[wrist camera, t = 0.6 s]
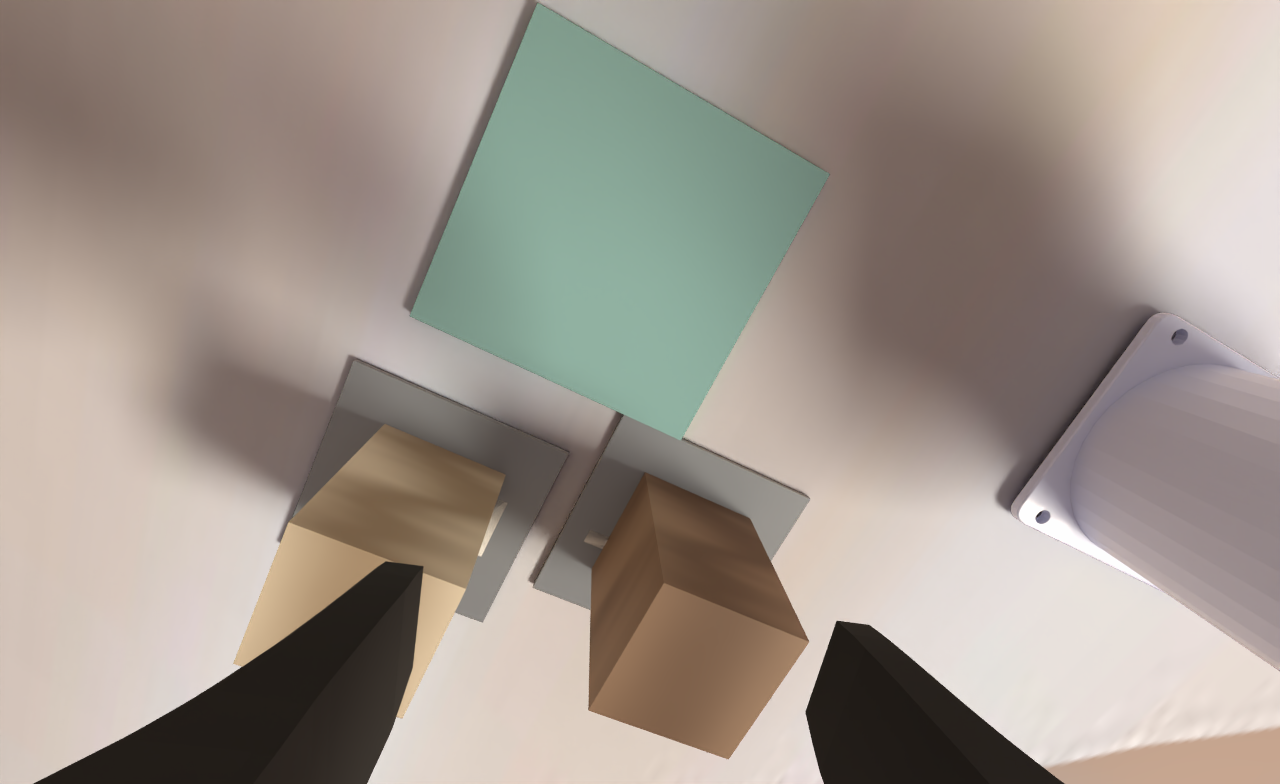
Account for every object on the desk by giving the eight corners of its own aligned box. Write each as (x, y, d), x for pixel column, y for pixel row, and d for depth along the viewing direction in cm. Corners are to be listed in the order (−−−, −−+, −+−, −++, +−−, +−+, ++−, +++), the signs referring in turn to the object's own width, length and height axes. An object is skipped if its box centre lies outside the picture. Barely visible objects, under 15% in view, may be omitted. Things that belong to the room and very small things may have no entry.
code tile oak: (568, 451, 19) (568, 454, 19) (483, 618, 21) (482, 622, 21) (356, 358, 18) (353, 360, 18) (283, 545, 20) (280, 548, 19)
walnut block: (750, 518, 20) (809, 641, 15) (693, 610, 21) (728, 759, 16) (645, 472, 20) (663, 583, 14) (591, 569, 20) (588, 710, 15)
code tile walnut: (808, 496, 20) (810, 499, 20) (709, 652, 22) (709, 656, 22) (624, 411, 19) (624, 413, 19) (533, 584, 21) (532, 587, 21)
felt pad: (826, 174, 17) (830, 174, 17) (679, 437, 19) (680, 440, 19) (538, 6, 16) (537, 2, 15) (412, 314, 18) (409, 316, 17)
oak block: (505, 474, 19) (466, 589, 14) (458, 572, 20) (402, 718, 14) (384, 423, 18) (288, 522, 13) (341, 528, 19) (233, 663, 14)
